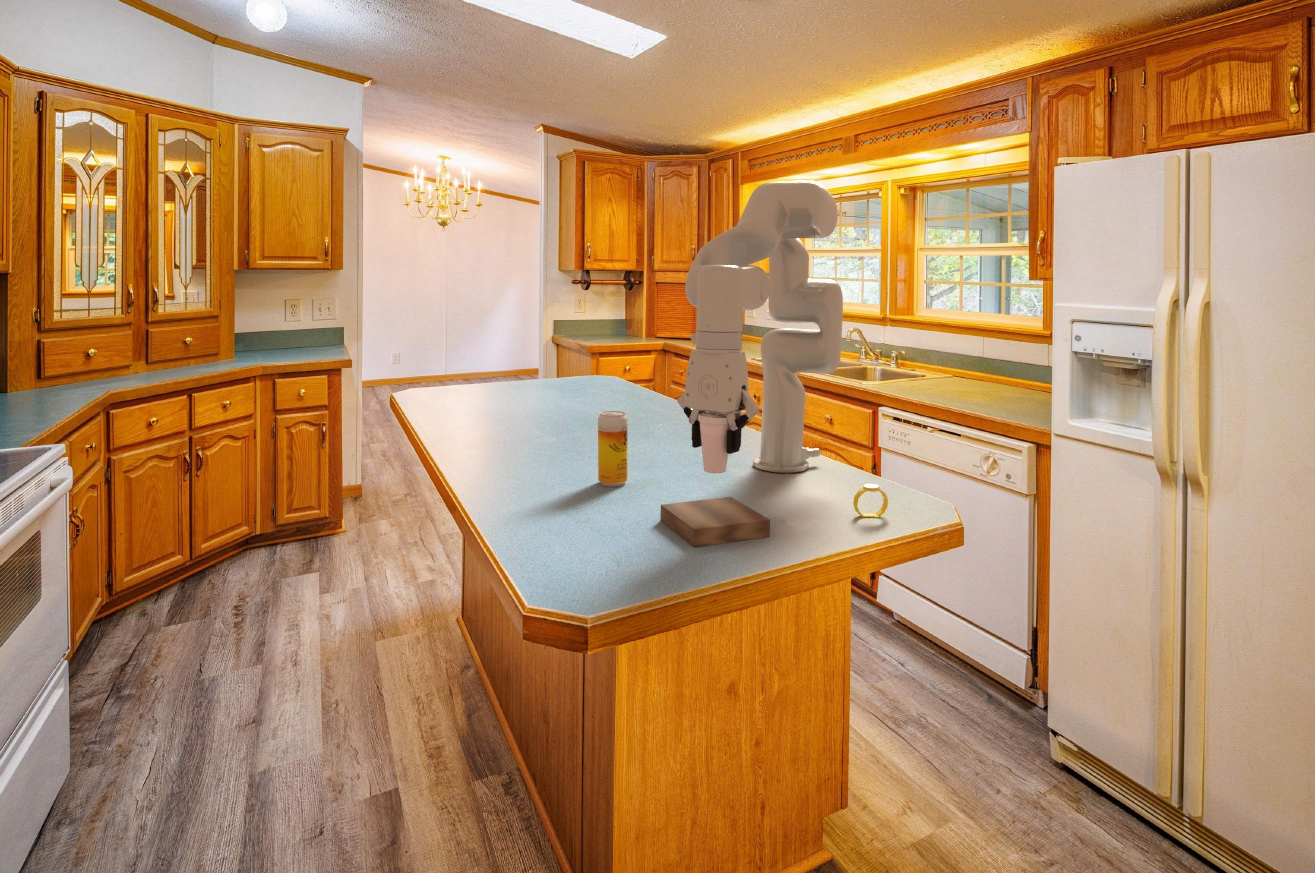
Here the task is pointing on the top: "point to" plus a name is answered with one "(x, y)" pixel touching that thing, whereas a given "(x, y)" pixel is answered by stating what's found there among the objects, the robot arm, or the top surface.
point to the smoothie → (714, 441)
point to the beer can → (612, 448)
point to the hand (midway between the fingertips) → (715, 448)
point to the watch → (871, 488)
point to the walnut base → (714, 521)
